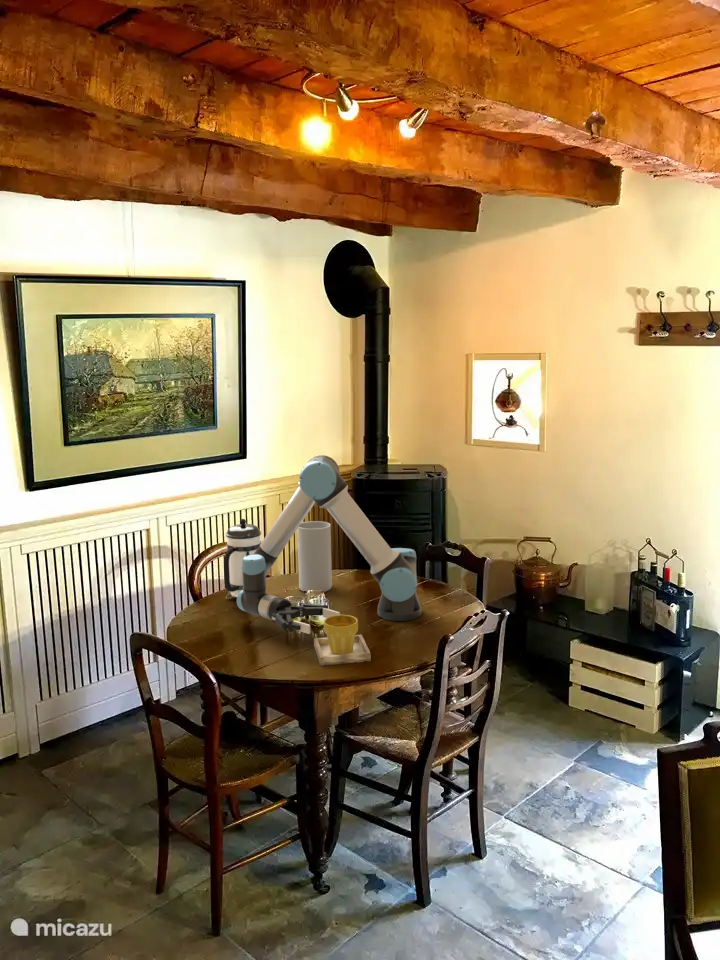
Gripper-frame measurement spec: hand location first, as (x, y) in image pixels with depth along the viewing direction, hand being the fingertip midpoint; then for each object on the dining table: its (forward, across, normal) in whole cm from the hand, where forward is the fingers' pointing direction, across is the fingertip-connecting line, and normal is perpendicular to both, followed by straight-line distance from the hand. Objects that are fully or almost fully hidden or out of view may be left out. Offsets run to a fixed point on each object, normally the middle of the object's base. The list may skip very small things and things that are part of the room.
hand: (324, 622), depth 238 cm
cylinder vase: (-42, -42, -9) cm, 60 cm away
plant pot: (+6, 0, -8) cm, 10 cm away
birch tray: (+6, 0, -8) cm, 11 cm away
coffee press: (-55, -17, -9) cm, 59 cm away
